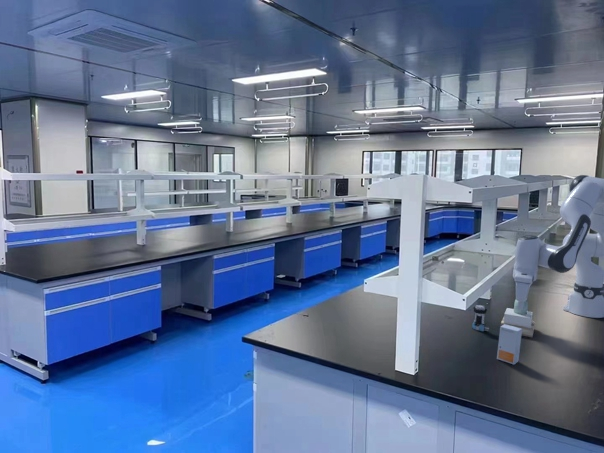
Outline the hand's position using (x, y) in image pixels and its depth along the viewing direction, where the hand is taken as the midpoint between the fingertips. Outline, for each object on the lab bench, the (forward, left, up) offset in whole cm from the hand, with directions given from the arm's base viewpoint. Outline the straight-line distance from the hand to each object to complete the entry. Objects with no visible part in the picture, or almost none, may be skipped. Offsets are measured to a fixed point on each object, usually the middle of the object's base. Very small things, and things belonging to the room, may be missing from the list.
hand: (521, 306), depth 185 cm
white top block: (0, -1, -7) cm, 7 cm away
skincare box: (+38, -1, -10) cm, 39 cm away
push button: (+10, -14, -10) cm, 20 cm away
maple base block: (0, -1, -11) cm, 11 cm away
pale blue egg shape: (0, 0, -2) cm, 3 cm away
